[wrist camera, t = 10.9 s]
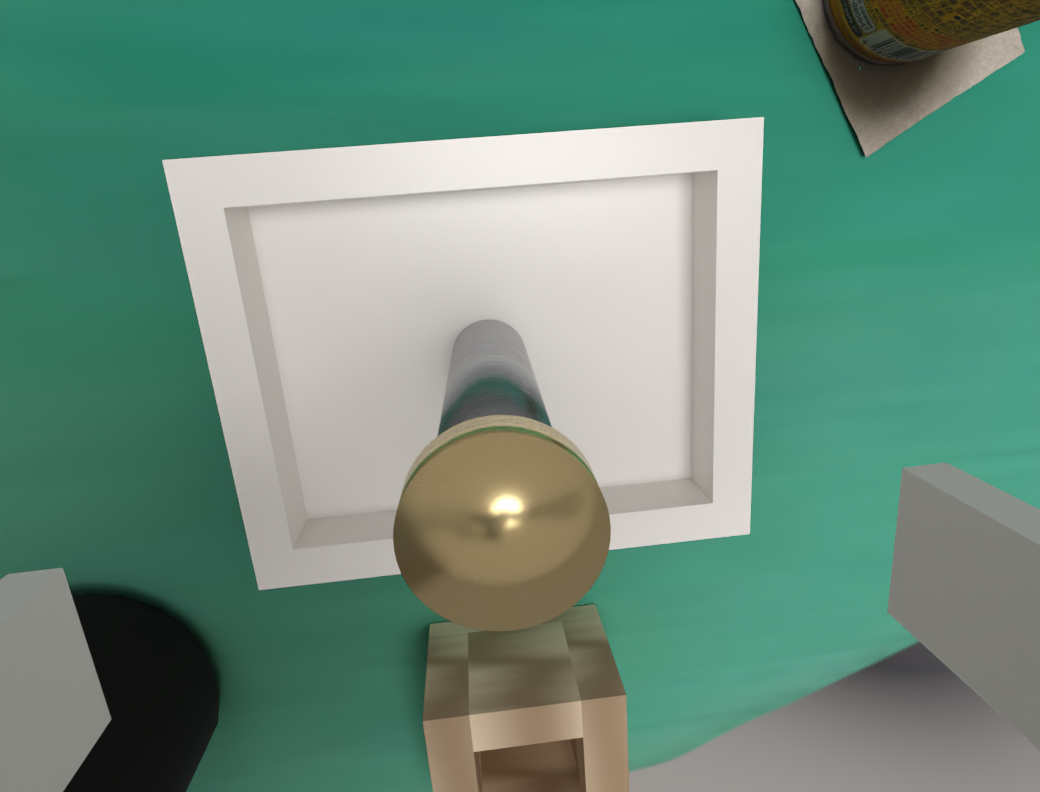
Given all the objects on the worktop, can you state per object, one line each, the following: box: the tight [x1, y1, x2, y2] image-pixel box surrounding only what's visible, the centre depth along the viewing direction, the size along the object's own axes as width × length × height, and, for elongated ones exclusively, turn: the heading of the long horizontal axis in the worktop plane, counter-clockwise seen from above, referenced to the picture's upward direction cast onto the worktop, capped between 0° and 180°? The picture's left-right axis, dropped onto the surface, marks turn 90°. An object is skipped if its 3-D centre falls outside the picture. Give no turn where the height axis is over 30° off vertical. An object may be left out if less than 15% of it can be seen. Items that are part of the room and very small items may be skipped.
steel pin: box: [393, 320, 611, 631], centre depth 19 cm, size 4×4×15 cm
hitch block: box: [423, 604, 629, 792], centre depth 29 cm, size 8×8×6 cm
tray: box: [162, 117, 764, 590], centre depth 25 cm, size 20×16×4 cm
